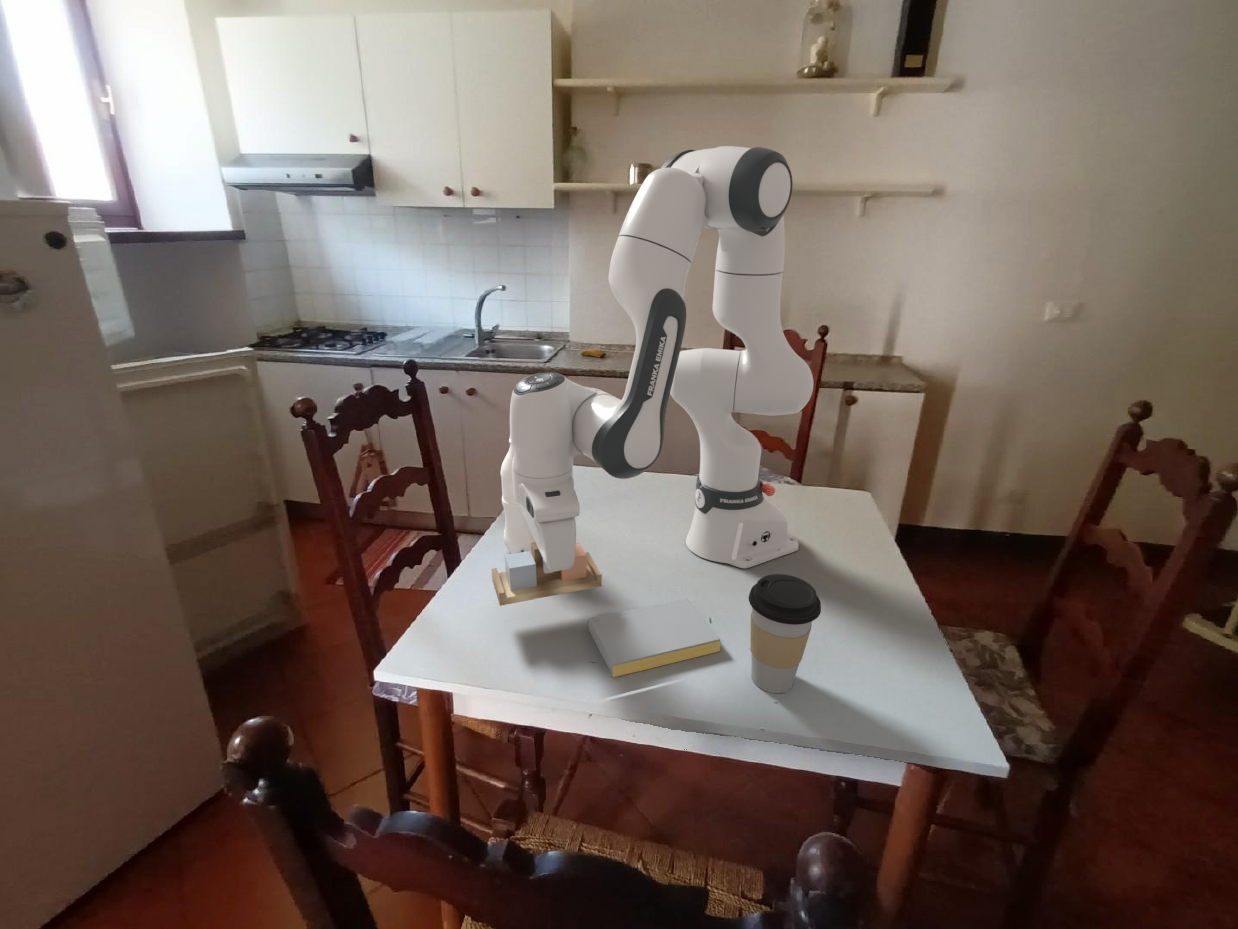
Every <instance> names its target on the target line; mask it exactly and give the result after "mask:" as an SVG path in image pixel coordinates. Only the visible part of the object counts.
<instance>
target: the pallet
mask: <svg viewBox="0 0 1238 929" xmlns="http://www.w3.org/2000/svg"><path fill="white" fill-rule="evenodd" d="M531 553H532V556H533V559H534V561H535V563H536V581H537V586H535V587H529V588H524V589H519V590H513V591H511V590H510V587H509V584H508V581H507V578H506V571H503V572H499V571H498V569H497V568H498V567H495V568H494V567H493V568H491V578H492V579H491V581H492V585H493V589H494V590H495V594H496V597H497V601H498V604H499V606H500V607H501V606H502V607H503V606H507V605H512V604H516V603H521V602H526V601H532V600H537V599H542V598H547V597H553V596H558V595H564V594H569V593H574V592H580V591H583V590H589V589H594V588H600V587H602V586H603V585H602V582H603V580H602V575H603V574H602V573H601V571H600V569H599V567H598V566H597V564H596V563H595V561H594V559H593V558H592V556H591V555H590V553H589V551H588V552H585V553H586V555H587V577H583V578H578V579H572V580H567V581H562V580H561V574H560V571H554V572H553V573H547V574H546V573H544V571H543V568H542V559H543V558H542V555H541V553H540V551H539V549H538V547H537V545H536V542H532V543H531Z"/></svg>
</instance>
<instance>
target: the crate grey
mask: <svg viewBox="0 0 1238 929" xmlns="http://www.w3.org/2000/svg"><path fill="white" fill-rule="evenodd" d="M504 567H505V572H506V578H507V581H508V584H509V587H510V590H511V591H513V590H519V589H524V588H529V587H535V586H537V581H536V563H535V561H534V559H533V556H532V554H531V552H530V551H526V552H524V551H521V552H520V553H514V554H510V553H507V554H504Z"/></svg>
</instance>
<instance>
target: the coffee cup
mask: <svg viewBox="0 0 1238 929" xmlns="http://www.w3.org/2000/svg"><path fill="white" fill-rule="evenodd" d="M817 594H818V593H817V591H816V589H815V588H814V587H813V586H812V585H811V584H810V583H809V582H807V581H805V580H803V579H802V578H799V577H796V576H793V575H788V574H784V573H783V574H781V573H780V574H779V573H776V574H775V573H774V574H773V573H772V574H768V575H764V576H763V577H761V578H760V579H758V581H757V582H756V583H755V584H754V585H753V586H752V587H751V589H750V592H749V593H748V602H749V604H750V606H751V614H750V648H749V650H750V652H751V654H750V655H751V668H750V669H751V670H750V672H751V673H750V676H751V680H752V683H754V684H755V686H756V687H758V688H759V689H762V690H763V691H765V692H769V693H771V694H784V693H787V692H788V691H790V690H791V688H792V687H793V684H794V681H795V678H796V675H797V673H798V668H799V665H800V663H801V661H802V660H803V656H804V653H805V649H806V647H807V643H808V641H809V636H810V634H811V631H812V622H813V621H815V620H816V619H818V618H819V616H820V615H821V613H822V606H821V605H822V604H821V600H820V598H819V596H818V595H817Z"/></svg>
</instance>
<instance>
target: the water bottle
mask: <svg viewBox="0 0 1238 929" xmlns="http://www.w3.org/2000/svg"><path fill="white" fill-rule="evenodd" d="M508 443H509V449H508V450H507V453H506V456H504V459H503V461H502V464H501V468H500V475H499V476H500V477H501V478H500V480H501V492H502V494H501V495H502V496H501V505H502V508H503V511H504V516H505V517H504V518H505V520H504V522H505V523H504V531H503V542H504V545H505V547H506V549H507V551H508V552H509V554H514V553H520V552H526V551H530V552H531V543H532V542H535V541H534V538H533V536H532V534H531V532H530V530H529V527H528V525H527V523H526V521H525V519H524V517H523V514H522V512H521V507H520V503H519V502H517V501H516V500H515V499H514V496H513V479H512V461H513V457H514V449H513V446H512V443H511V440H510V438H509V439H508ZM531 554H532V553H531Z"/></svg>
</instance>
